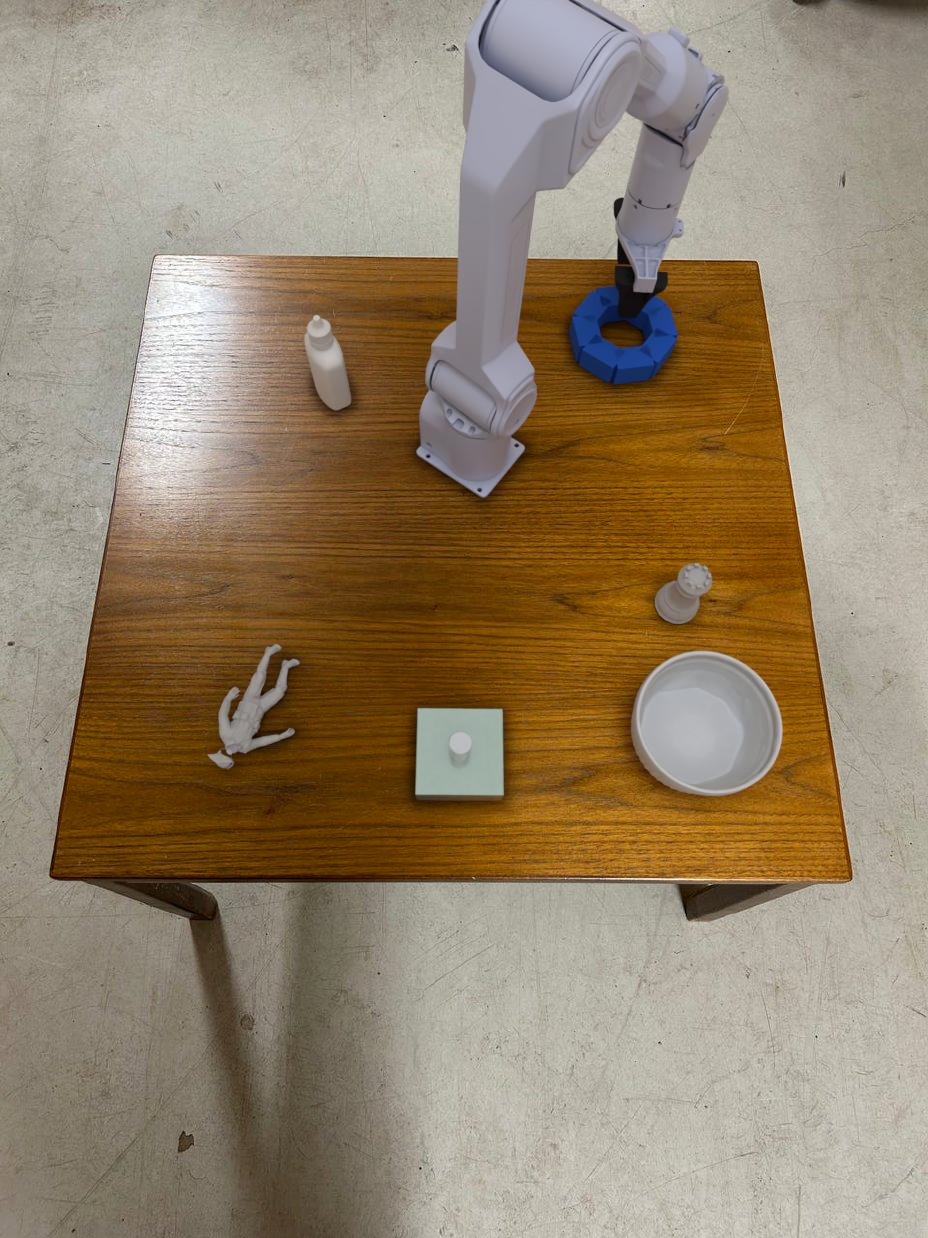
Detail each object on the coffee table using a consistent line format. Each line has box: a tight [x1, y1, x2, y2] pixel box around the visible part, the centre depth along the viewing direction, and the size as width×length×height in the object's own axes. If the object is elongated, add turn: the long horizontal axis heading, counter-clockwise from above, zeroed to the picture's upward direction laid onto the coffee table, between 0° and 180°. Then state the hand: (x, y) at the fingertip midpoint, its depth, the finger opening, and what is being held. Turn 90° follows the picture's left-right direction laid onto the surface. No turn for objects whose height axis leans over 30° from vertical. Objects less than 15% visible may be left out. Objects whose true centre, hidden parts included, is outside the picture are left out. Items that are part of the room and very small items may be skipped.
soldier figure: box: [207, 643, 301, 771], centre depth 74 cm, size 8×5×12 cm
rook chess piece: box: [654, 562, 713, 625], centre depth 77 cm, size 4×4×8 cm
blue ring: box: [568, 285, 679, 385], centre depth 91 cm, size 12×12×3 cm
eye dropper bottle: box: [304, 314, 352, 412], centre depth 83 cm, size 4×6×12 cm
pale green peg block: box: [414, 707, 505, 802], centre depth 71 cm, size 8×8×8 cm
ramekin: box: [630, 650, 784, 797], centre depth 73 cm, size 13×13×7 cm
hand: (626, 288), depth 90 cm, fingers open, 7 cm apart
